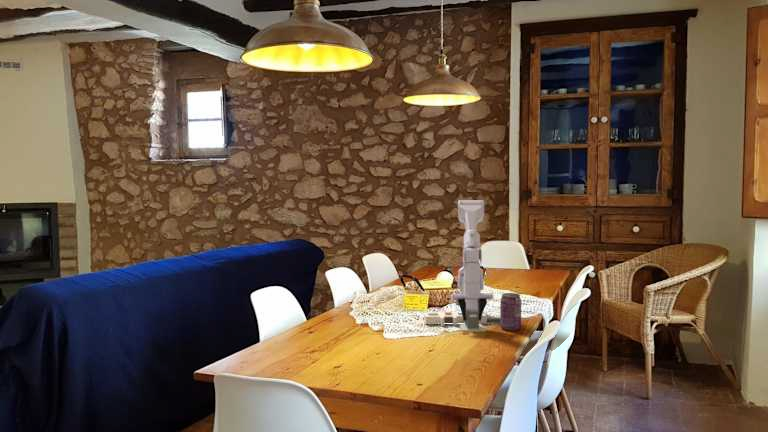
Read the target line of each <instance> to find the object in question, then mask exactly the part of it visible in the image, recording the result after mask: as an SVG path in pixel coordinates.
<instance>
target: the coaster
mask: <svg viewBox="0 0 768 432" xmlns="http://www.w3.org/2000/svg"><path fill="white" fill-rule="evenodd" d="M459 326H460V327H459ZM458 327H459V329H460V331H461V332H462V333H464V332H465V333H467V332H486V328H485V327H484V326H483V324H479V328H476V329H467V327H466V326H465V324H458Z"/></svg>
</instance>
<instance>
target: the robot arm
mask: <svg viewBox="0 0 768 432" xmlns="http://www.w3.org/2000/svg"><path fill="white" fill-rule="evenodd" d="M457 215H458V216H457V217H458V221H459V222H460V223H462V224H463V225H464V231H465V232H464V234H463V249H462V264H463V265H462V267H460V268H459V269H458V271H457V289H458V290H459V291H460V293H451V294H450V299H451V301H456V302H457V303H458V306H459V309H461V312H462V316H463V320H464V321H466V309H477V310H478V311H479V321H481V317H482V313H483V312H484V309H486V306H487V304H488V301H487V300H490V301H493V300H494V294H493V293H492V292H491V293H490V292H488V293H487V292H481V291H483V290H484V289H485V288H484V286H485V285H484V284H485V283H484V282H485V279H484V271H483V269H482V268H481V264H482V260H483V256H482V255H483V254H482V253H483V252H482V246H481V235H480V233H479V232H478V231H477V227H478V224H479V223H481V222H483V220H484V216H485V201H484V200H483V199H481V200H479V199H476V200H474V199H473V200H472V199H469V200H465V199H462V200H461V199H459V200H458V201H457Z"/></svg>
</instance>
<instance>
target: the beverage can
mask: <svg viewBox="0 0 768 432" xmlns="http://www.w3.org/2000/svg"><path fill="white" fill-rule="evenodd" d="M499 306H500V313H499V314H500V317H499V318H500V321H499V322H500V325H499V326H500V328H502V329H503V330H506V331H517V330H519V329H521V328H522V299H521V294H519V293H513V292H506V293H502V294H501V297H500V305H499Z"/></svg>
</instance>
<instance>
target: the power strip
mask: <svg viewBox="0 0 768 432" xmlns="http://www.w3.org/2000/svg"><path fill="white" fill-rule="evenodd" d="M487 317H488V316H487V314H486V313H485V312H484V311H483V313H482V317H481V321H479V324H481V325H483V324H484V325H487V322H500V317H499V318H487ZM424 320H425V322H424V324H425V323H426V324H438V323H439V324H441V325H444V323H453V324H452V326H453V325H457V326H458V324H457V323H465V321H464V320H463V316H462V312H459V311H454V312H453V311H445V312H442V311H441V312H439V311H438V312H424V313H423V321H424ZM426 324H425V325H426ZM444 326H445V325H444Z"/></svg>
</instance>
